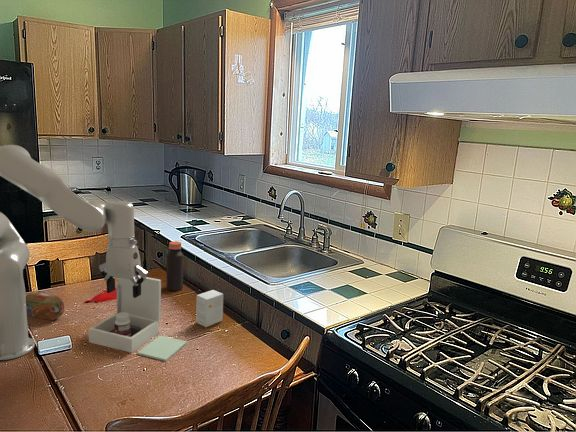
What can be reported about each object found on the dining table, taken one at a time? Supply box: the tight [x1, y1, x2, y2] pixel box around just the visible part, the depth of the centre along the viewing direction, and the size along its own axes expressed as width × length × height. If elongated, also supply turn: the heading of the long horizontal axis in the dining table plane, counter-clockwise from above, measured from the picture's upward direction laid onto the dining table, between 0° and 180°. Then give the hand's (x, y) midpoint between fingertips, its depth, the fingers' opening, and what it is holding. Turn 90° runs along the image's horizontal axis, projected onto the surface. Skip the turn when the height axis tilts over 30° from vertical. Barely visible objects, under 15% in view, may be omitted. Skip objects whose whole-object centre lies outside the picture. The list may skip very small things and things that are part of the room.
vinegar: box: [165, 241, 184, 292], centre depth 184 cm, size 7×7×20 cm
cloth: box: [83, 287, 117, 304], centre depth 176 cm, size 26×14×2 cm, turn 128°
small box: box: [195, 289, 224, 328], centre depth 157 cm, size 8×6×10 cm
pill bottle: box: [114, 312, 132, 337], centre depth 141 cm, size 5×5×8 cm
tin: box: [26, 292, 65, 321], centre depth 152 cm, size 15×3×8 cm, turn 76°
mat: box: [137, 335, 188, 362], centre depth 137 cm, size 12×10×1 cm
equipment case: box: [88, 275, 162, 354], centre depth 141 cm, size 15×16×18 cm
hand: (124, 293), depth 139 cm, fingers open, 9 cm apart
